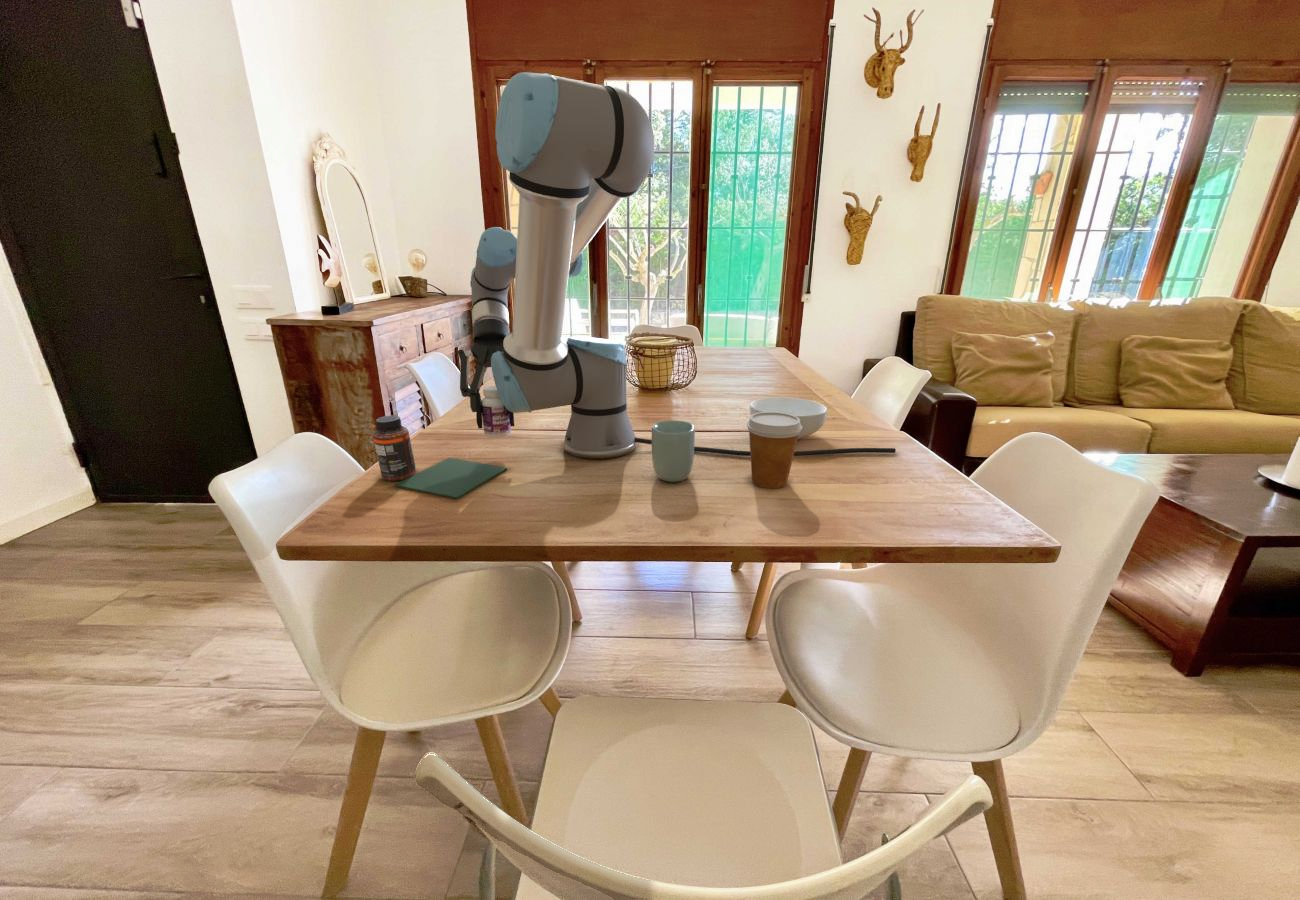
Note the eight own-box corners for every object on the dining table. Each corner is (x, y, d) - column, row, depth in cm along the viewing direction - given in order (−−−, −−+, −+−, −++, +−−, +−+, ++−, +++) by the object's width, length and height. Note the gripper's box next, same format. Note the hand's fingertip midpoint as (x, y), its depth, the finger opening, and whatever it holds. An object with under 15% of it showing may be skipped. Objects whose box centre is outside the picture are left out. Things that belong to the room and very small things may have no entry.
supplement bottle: (409, 467, 101) (399, 411, 97) (421, 475, 97) (411, 418, 93) (377, 475, 97) (365, 418, 93) (388, 485, 93) (376, 425, 89)
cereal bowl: (832, 431, 121) (835, 402, 119) (811, 452, 108) (815, 420, 106) (763, 419, 130) (765, 392, 127) (736, 438, 117) (738, 408, 114)
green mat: (507, 469, 100) (507, 467, 99) (456, 499, 87) (456, 497, 87) (449, 459, 104) (449, 457, 104) (394, 486, 92) (394, 484, 92)
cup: (693, 470, 99) (695, 420, 96) (692, 487, 92) (694, 434, 88) (653, 469, 100) (653, 419, 96) (649, 485, 93) (649, 432, 89)
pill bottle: (497, 440, 102) (492, 392, 99) (478, 435, 105) (473, 389, 101) (517, 432, 106) (513, 387, 103) (499, 428, 109) (494, 383, 105)
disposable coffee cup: (798, 474, 97) (804, 413, 93) (794, 495, 89) (801, 429, 84) (747, 468, 100) (751, 409, 96) (738, 488, 91) (742, 423, 87)
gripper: (535, 337, 115) (544, 429, 106) (448, 340, 111) (449, 436, 102) (534, 315, 109) (543, 411, 99) (441, 317, 105) (442, 418, 95)
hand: (495, 423), depth 101 cm, fingers closed on pill bottle, 5 cm apart
